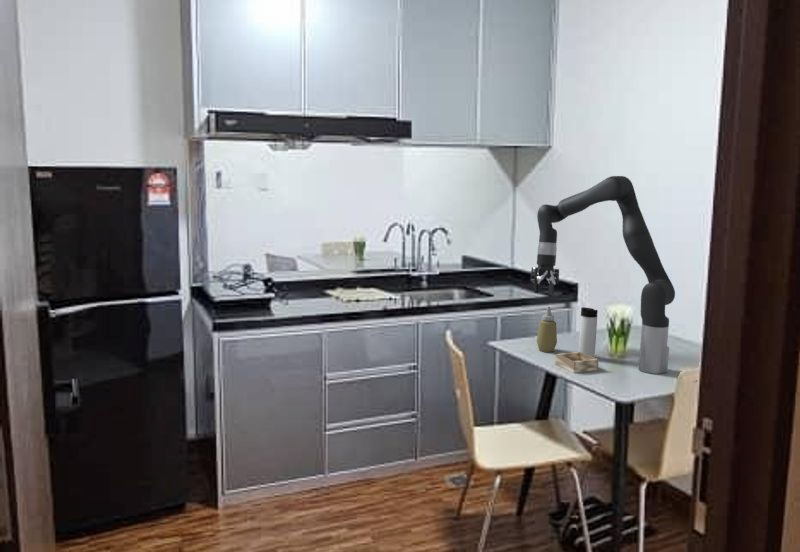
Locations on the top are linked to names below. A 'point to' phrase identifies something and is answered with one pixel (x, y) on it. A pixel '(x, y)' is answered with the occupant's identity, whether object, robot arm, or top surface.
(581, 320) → the travel mug
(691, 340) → the top surface
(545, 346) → the squeeze bottle
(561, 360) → the birch dock
